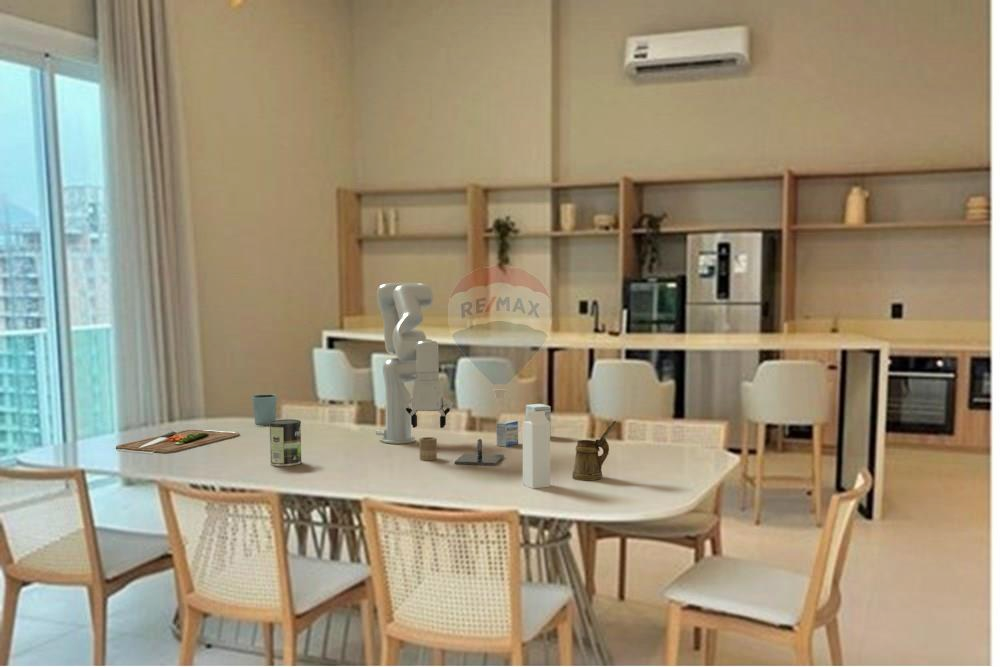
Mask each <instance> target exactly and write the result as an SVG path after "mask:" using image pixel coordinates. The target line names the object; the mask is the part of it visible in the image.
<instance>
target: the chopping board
mask: <svg viewBox="0 0 1000 667" xmlns="http://www.w3.org/2000/svg"><path fill="white" fill-rule="evenodd" d="M240 435H241V433H239V432H236V431H223V430H221V431H220V430H209V429H186V430H180V431H170V432H168V433H165V434H162V435H159V436H153V437H150V438H145V439H144V438H143V439H140V440H136V441H132V442H127V443H123V444H118V445H116V446H115V449H116V451H117V452H122V453H135V454H136V453H137V454H145V455H146V454H147V455H153V454H155V453H156V454H174V453H178V452H183V451H187V450H190V449H194V448H199V447H202V446H206V445H210V444H215V443H218V442H221V441H227V440H231V439H234V438H238V437H241V436H240Z"/></svg>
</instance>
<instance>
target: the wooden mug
mask: <svg viewBox="0 0 1000 667" xmlns="http://www.w3.org/2000/svg"><path fill="white" fill-rule="evenodd" d="M616 424H617V421H616V420H615V421H613V422H612V423H611V424H610V426H608V428H607V429H606V431H605V432H604V433H603V434H602V436H601V437H600V438H598V439H597V438H596V439H595V440H592V439H580V440H577V443H576V444H577V445H576V446H575V459H574V460H575V461H574V466H573V471H572V475H571V476H572V479H574V480H577V481H578V480H579V481H585V482H586V481H597V480H601V478H603V472H602V467H603V464H604V462H605V460H606V459H607V457H608V455H609V452H610V445H609V443H608V441H607V440H606V438H607V437H608V435H609V434H610V432H611V431H612V430H613V428H614V427H615V425H616ZM600 448H601V449H602V451H603V452H602V454H601V455H599V452H600Z"/></svg>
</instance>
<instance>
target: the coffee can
mask: <svg viewBox="0 0 1000 667" xmlns="http://www.w3.org/2000/svg"><path fill="white" fill-rule="evenodd" d="M301 424H302V421H301V420H299V419H292V418H291V419H290V418H286V419H276V420H274V421H271V422H269V456H270V457H269V459H270V466H273V467H274V466H275V467H291V466H296V465H300V464H302V437H301V436H302V432H301V431H302V430H301V428H302V427H301Z"/></svg>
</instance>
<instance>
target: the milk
mask: <svg viewBox="0 0 1000 667" xmlns="http://www.w3.org/2000/svg"><path fill="white" fill-rule="evenodd" d="M522 485H523V486H525V487H528V488H530V489H533V490H535V489H541V488H542V489H543V488H549V487H551V438H550V422H549V421H548V419H547V418H546V417H545V411H538V412H528V413H527V418H526V417H525V419H524V420H523V421H522Z"/></svg>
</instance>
